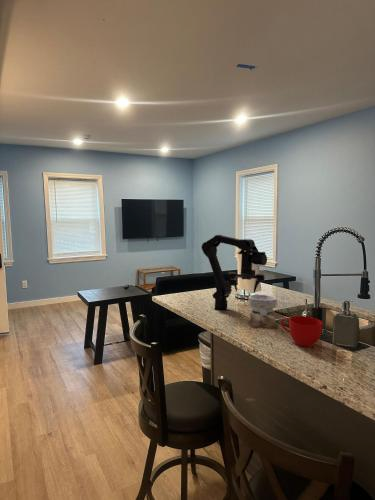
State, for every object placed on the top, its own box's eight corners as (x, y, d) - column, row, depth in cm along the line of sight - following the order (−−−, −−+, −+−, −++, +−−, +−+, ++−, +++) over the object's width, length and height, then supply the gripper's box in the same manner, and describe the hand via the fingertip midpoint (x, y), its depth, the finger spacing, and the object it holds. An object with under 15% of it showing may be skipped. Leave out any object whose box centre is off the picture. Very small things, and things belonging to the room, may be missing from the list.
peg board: (251, 326, 160) (252, 318, 159) (250, 315, 179) (250, 307, 178) (277, 328, 158) (278, 320, 158) (273, 317, 177) (273, 309, 177)
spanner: (259, 322, 163) (259, 314, 163) (260, 316, 174) (260, 308, 174) (266, 323, 163) (266, 314, 162) (266, 316, 173) (266, 309, 173)
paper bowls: (266, 306, 198) (266, 293, 197) (281, 313, 183) (282, 299, 183) (243, 308, 192) (243, 294, 192) (257, 316, 178) (258, 301, 177)
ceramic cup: (286, 334, 151) (287, 312, 150) (325, 344, 141) (327, 320, 140) (273, 341, 141) (275, 318, 140) (314, 353, 131) (316, 327, 130)
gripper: (228, 264, 171) (227, 294, 173) (266, 266, 168) (264, 297, 170) (229, 261, 182) (227, 290, 184) (264, 263, 179) (262, 292, 181)
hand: (245, 292), depth 179 cm, fingers open, 9 cm apart
